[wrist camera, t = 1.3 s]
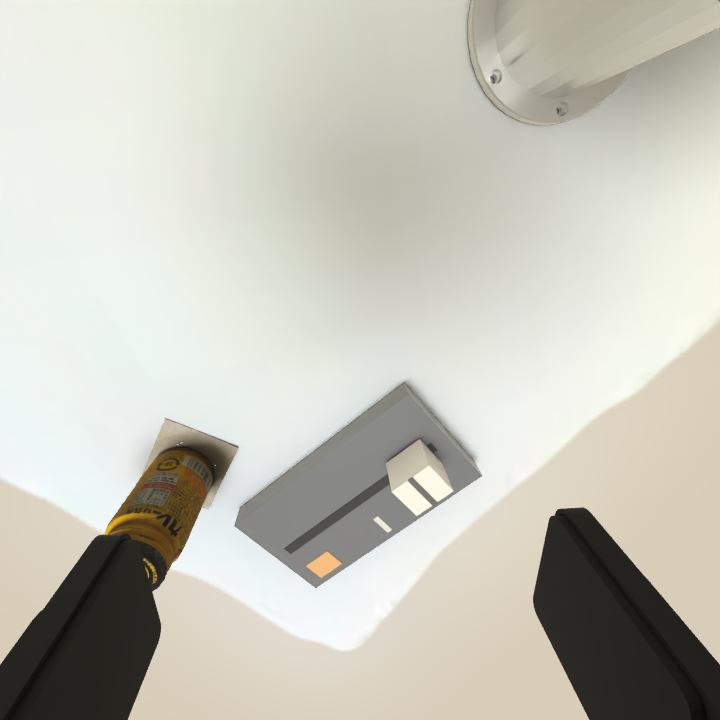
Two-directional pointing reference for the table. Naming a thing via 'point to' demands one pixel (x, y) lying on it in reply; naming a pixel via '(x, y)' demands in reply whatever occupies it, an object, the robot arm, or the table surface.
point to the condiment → (172, 495)
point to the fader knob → (418, 478)
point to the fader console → (350, 490)
